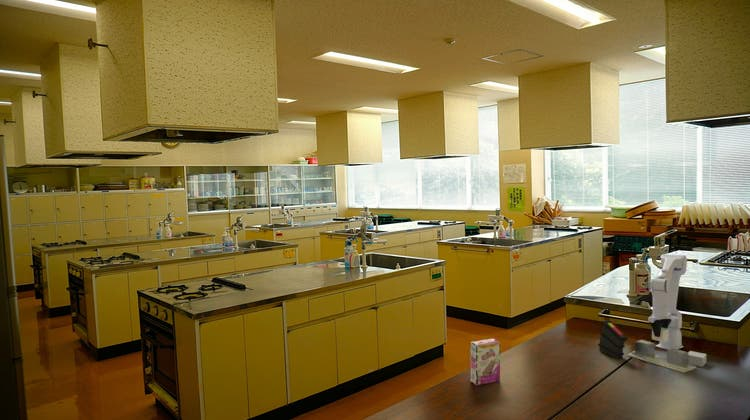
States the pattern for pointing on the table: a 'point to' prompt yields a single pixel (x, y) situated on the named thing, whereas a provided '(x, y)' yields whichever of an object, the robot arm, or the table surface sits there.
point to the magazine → (612, 340)
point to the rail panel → (673, 361)
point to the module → (661, 335)
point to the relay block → (696, 358)
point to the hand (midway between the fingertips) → (660, 335)
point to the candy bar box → (485, 361)
